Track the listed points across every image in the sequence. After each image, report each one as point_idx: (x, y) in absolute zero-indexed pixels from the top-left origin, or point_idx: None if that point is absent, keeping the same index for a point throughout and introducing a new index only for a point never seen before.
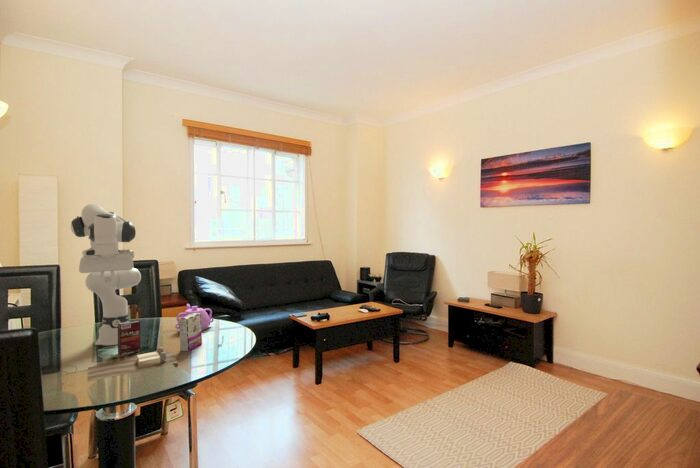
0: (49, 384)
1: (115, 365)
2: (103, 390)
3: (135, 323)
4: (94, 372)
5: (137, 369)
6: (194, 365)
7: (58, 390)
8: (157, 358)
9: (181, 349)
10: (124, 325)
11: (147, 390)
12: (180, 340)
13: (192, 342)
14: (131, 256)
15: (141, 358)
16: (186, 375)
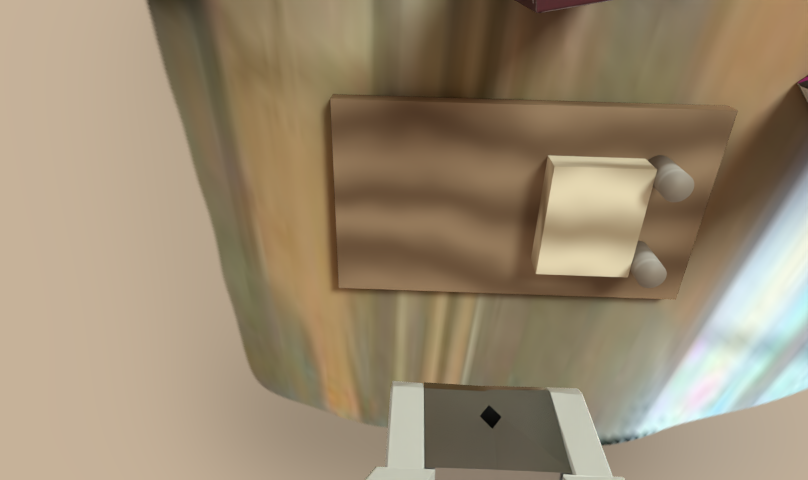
0: (198, 172)
1: (447, 161)
2: (389, 349)
3: None
4: (359, 197)
5: (518, 276)
6: (718, 324)
7: (248, 260)
8: (614, 275)
9: (805, 92)
10: (569, 7)
11: None
12: None
13: None
14: None
15: (556, 236)
16: (645, 390)
